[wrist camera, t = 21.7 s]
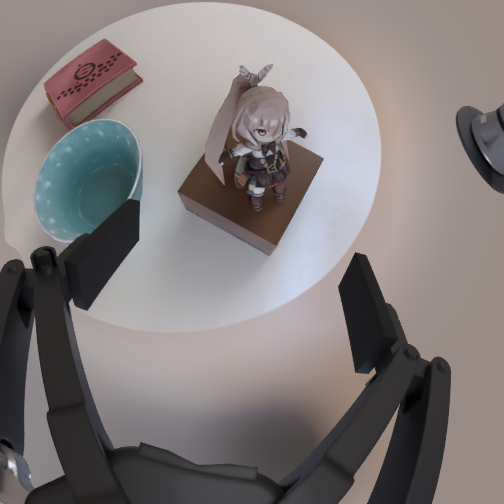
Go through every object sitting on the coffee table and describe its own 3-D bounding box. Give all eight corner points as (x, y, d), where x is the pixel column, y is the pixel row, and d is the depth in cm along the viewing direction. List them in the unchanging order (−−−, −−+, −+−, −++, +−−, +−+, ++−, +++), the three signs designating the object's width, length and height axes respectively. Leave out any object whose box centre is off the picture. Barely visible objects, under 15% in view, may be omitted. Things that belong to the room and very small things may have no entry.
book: (51, 100, 37) (40, 86, 32) (111, 54, 40) (104, 38, 35) (71, 136, 36) (58, 120, 31) (143, 81, 38) (136, 61, 33)
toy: (234, 233, 28) (202, 103, 14) (207, 175, 31) (174, 60, 18) (314, 200, 29) (334, 72, 15) (277, 150, 32) (275, 36, 19)
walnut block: (311, 179, 36) (324, 158, 30) (269, 256, 34) (276, 246, 28) (234, 139, 37) (234, 113, 31) (186, 209, 35) (177, 191, 29)
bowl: (112, 278, 33) (80, 271, 24) (48, 215, 34) (16, 197, 25) (184, 182, 35) (170, 151, 27) (110, 134, 36) (90, 103, 28)
